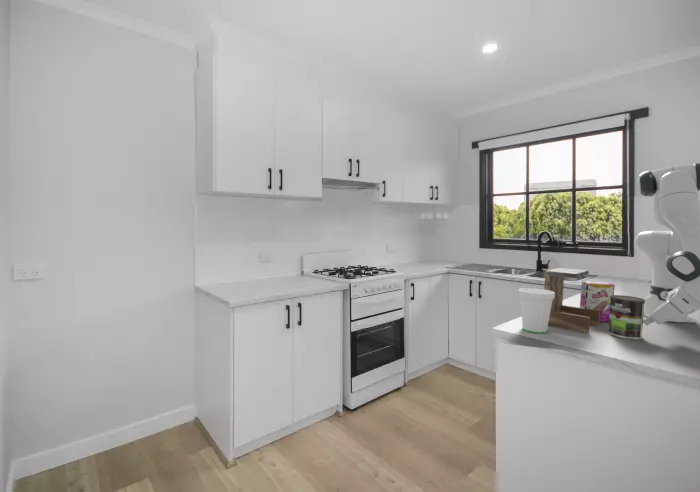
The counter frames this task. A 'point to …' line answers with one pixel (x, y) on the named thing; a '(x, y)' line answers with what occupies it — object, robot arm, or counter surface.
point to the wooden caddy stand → (565, 314)
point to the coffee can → (626, 317)
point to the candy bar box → (597, 298)
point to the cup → (535, 309)
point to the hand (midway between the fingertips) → (644, 323)
